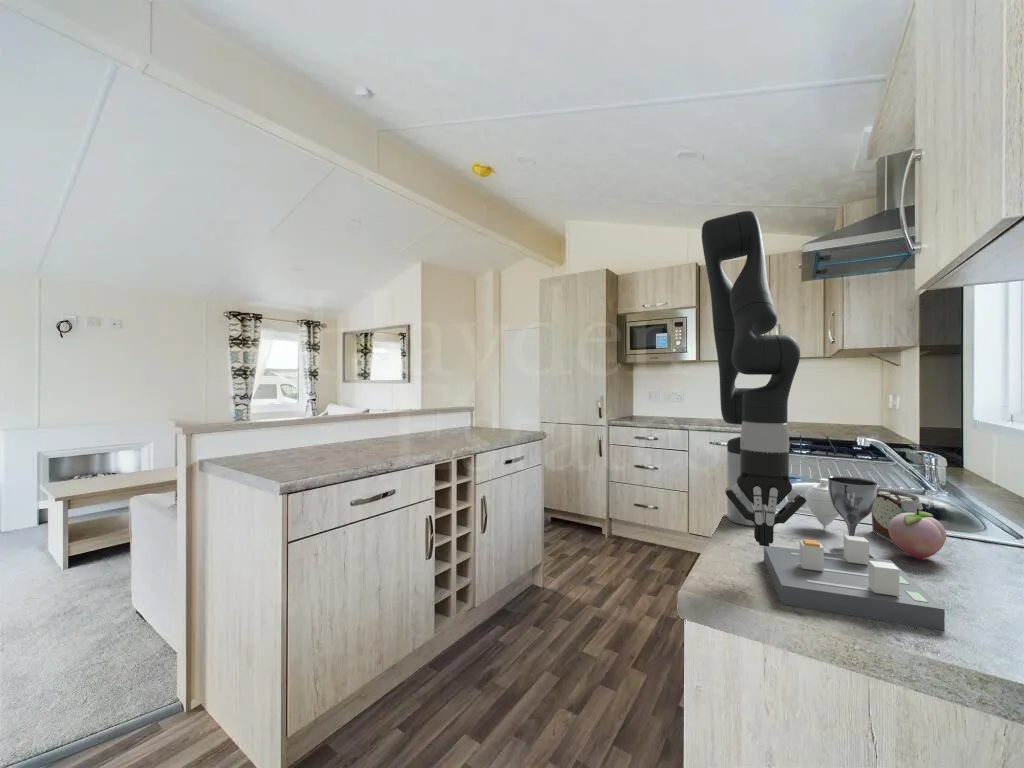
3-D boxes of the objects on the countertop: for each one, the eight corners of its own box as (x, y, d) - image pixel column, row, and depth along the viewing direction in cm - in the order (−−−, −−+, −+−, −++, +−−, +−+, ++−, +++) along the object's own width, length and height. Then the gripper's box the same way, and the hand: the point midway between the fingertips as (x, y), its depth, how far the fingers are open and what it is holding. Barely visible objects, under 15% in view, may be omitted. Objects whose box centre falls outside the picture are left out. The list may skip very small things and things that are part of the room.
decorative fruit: (896, 546, 94) (896, 499, 94) (950, 559, 87) (950, 509, 87) (881, 557, 88) (881, 507, 88) (936, 571, 82) (937, 517, 81)
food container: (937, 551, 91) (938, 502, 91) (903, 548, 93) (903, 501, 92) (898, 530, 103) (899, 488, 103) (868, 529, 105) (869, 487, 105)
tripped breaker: (799, 563, 78) (799, 538, 78) (819, 565, 77) (819, 540, 77) (802, 568, 76) (802, 543, 76) (823, 571, 75) (823, 545, 75)
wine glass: (824, 554, 90) (824, 480, 89) (830, 543, 95) (830, 474, 95) (875, 565, 84) (875, 487, 84) (878, 553, 90) (878, 480, 90)
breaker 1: (843, 557, 81) (843, 535, 80) (863, 559, 79) (864, 537, 79) (848, 562, 78) (848, 539, 78) (868, 564, 77) (869, 541, 77)
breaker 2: (868, 585, 69) (868, 560, 69) (892, 589, 68) (892, 563, 68) (874, 592, 67) (874, 566, 67) (899, 596, 66) (899, 569, 66)
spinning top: (810, 533, 102) (810, 481, 102) (801, 523, 109) (801, 474, 109) (850, 537, 99) (850, 484, 99) (838, 526, 106) (838, 476, 106)
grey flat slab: (763, 560, 87) (763, 544, 87) (890, 577, 79) (890, 559, 79) (781, 604, 70) (781, 584, 70) (944, 630, 63) (944, 608, 63)
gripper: (802, 446, 80) (802, 543, 80) (721, 442, 85) (721, 533, 85) (813, 452, 73) (812, 558, 73) (724, 447, 78) (723, 546, 78)
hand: (763, 544), depth 79 cm, fingers closed
